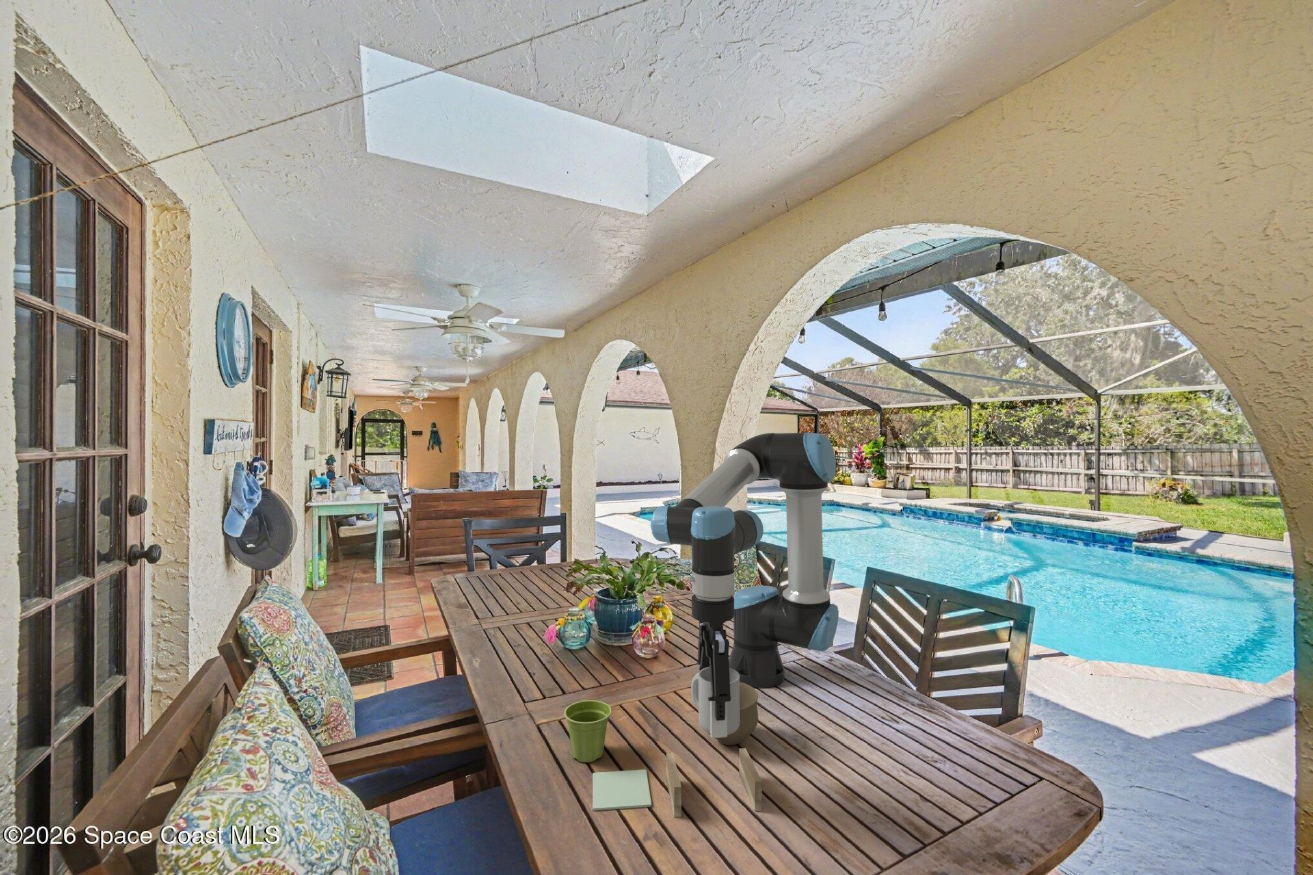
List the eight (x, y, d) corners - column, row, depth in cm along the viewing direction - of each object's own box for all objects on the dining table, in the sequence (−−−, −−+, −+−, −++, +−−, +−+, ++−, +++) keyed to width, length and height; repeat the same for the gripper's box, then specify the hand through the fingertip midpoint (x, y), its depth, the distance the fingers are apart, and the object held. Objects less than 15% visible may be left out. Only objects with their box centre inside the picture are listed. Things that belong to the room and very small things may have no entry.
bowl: (686, 731, 119) (687, 685, 119) (737, 720, 124) (737, 675, 124) (715, 763, 107) (716, 712, 107) (770, 749, 112) (770, 700, 112)
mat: (645, 771, 104) (645, 769, 104) (651, 806, 95) (651, 804, 95) (592, 775, 103) (592, 772, 103) (592, 810, 93) (592, 808, 93)
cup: (722, 741, 92) (721, 688, 92) (678, 719, 100) (678, 669, 99) (748, 725, 97) (748, 674, 97) (705, 705, 105) (705, 658, 104)
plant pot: (565, 742, 114) (566, 700, 114) (611, 740, 115) (611, 698, 115) (561, 769, 105) (562, 723, 105) (611, 767, 106) (611, 721, 106)
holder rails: (745, 775, 104) (745, 748, 104) (761, 810, 94) (761, 781, 94) (666, 780, 102) (666, 753, 102) (674, 817, 92) (674, 787, 92)
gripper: (682, 579, 108) (682, 695, 108) (703, 615, 87) (704, 758, 87) (719, 578, 109) (720, 693, 109) (750, 613, 88) (750, 755, 88)
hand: (712, 722), depth 98 cm, fingers closed on cup, 8 cm apart
